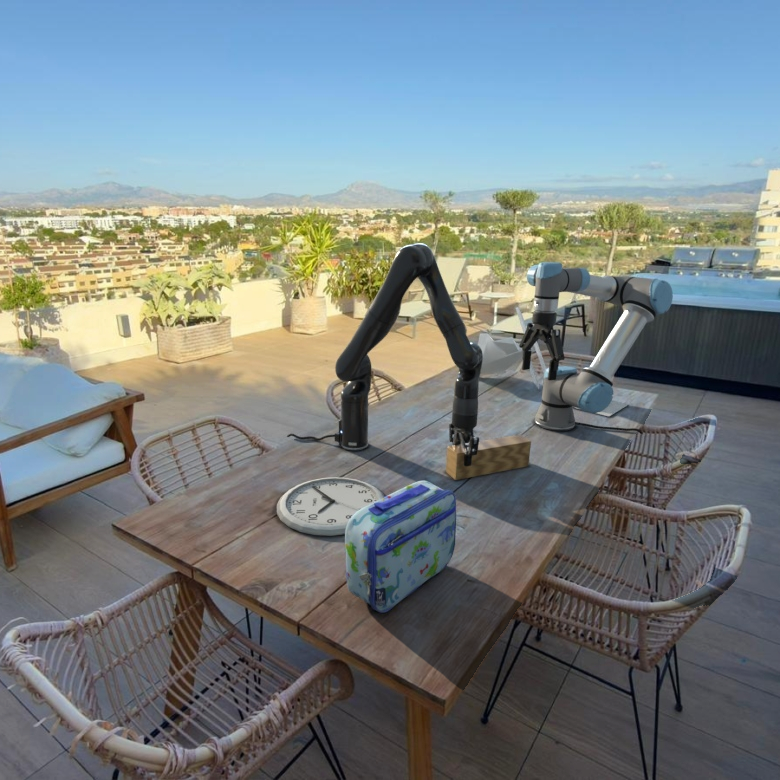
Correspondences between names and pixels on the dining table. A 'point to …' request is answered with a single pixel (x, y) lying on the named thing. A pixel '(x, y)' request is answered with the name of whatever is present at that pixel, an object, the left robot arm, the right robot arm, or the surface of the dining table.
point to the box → (489, 457)
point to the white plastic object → (505, 353)
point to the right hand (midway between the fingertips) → (538, 374)
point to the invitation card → (611, 408)
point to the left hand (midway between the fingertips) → (461, 461)
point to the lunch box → (399, 543)
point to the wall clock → (325, 504)
